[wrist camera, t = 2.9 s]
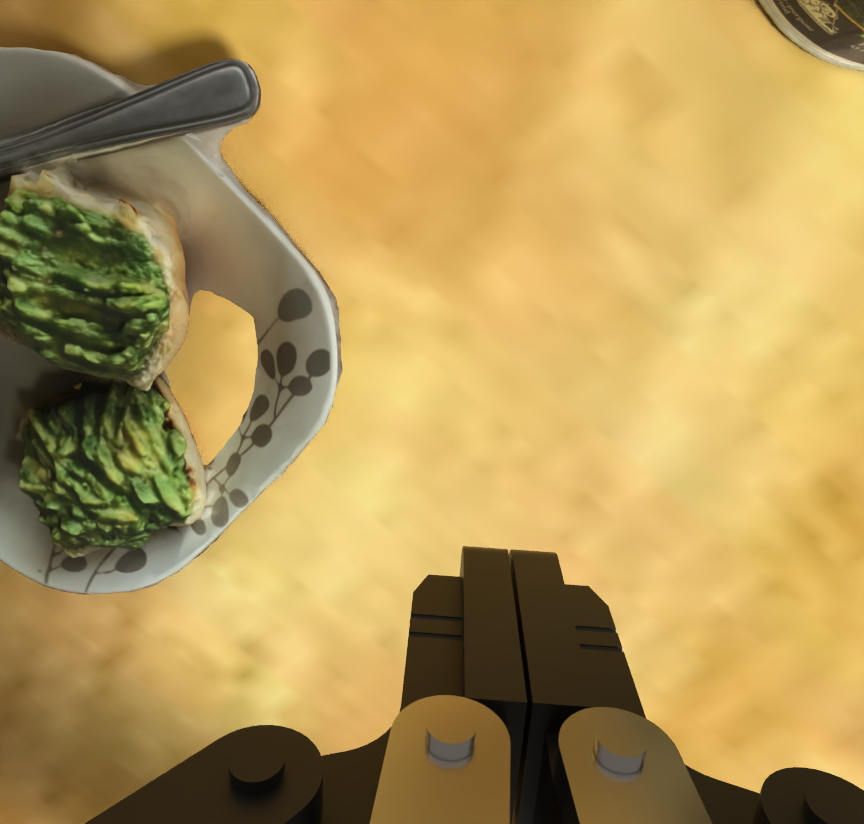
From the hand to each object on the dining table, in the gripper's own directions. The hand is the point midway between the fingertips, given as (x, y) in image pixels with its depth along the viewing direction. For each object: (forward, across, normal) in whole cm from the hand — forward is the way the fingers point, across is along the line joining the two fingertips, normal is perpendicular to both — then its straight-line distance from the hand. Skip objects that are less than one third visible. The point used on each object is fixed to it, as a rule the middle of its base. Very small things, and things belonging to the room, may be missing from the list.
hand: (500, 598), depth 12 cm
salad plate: (+15, +15, 0) cm, 21 cm away
